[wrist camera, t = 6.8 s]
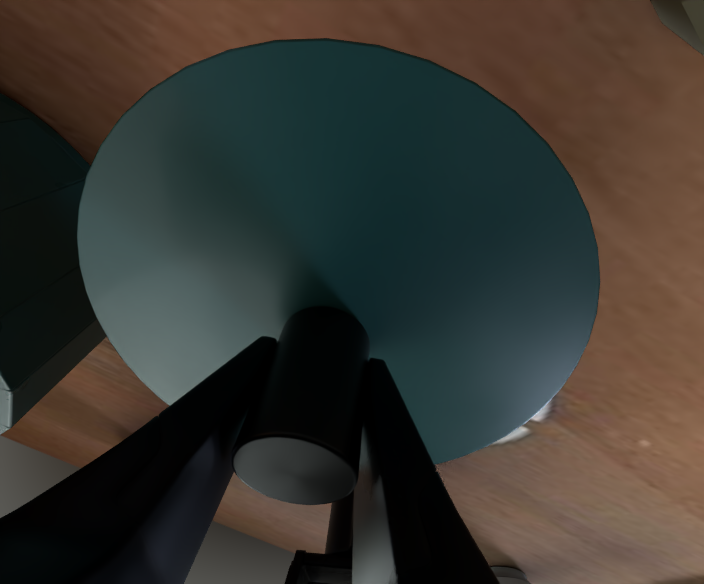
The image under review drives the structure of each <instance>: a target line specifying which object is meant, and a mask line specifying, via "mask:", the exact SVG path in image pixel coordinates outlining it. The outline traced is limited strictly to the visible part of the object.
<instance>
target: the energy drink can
mask: <svg viewBox="0 0 704 584" xmlns="http://www.w3.org/2000/svg"><path fill="white" fill-rule="evenodd" d="M491 569H492V571H493V572H494V574H495V576H496V577H497V579H498V581H499V582H500V584H531V583H529V582H528V581H527V578H526V575H525V574H524V573H523V572H521V571H519V570H516V569H513V568H508V567H491Z"/></svg>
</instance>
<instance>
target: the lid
mask: <svg viewBox="0 0 704 584" xmlns="http://www.w3.org/2000/svg"><path fill="white" fill-rule="evenodd" d="M77 245H78V255H79V265H80V269H81V273H82V277H83V281H84V285H85V289H86V292H87V295H88V297H89V300H90V302H91V305H92V308H93V310H94V313H95V315H96V317H97V319H98V321H99V323H100V325H101V326H102V328H103V330H104V332H105V334H106V335H107V337H108V339H109V341H110V342H111V343H112V345H113V346H114V348H115V349H116V351H117V352H118V353H119V355H120V356H121V358H122V359H123V360H124V362H125V363H126V364H127V365H128V366H129V367H130V368H131V370H132V371H133V372H134V373H135V374H136V375H137V377H138V378H139V379H140V380H141V381H142V382H143V383H144V384H145V385H146V386H147V387H148V388H150V389H151V390H152V391H153V392H154V393H155V394H156V395H157V396H158V397H159V398H160V399H162V400H163V401H164V402H165V403H167V404H168V405H169V406H170V405H172V404H173V403H174V402H175V401H177V400H178V399H179V398H181V397H182V396H183V395H185V394H186V393H187V392H189V391H190V390H191V389H193V388H194V387H195V386H196V385H198V384H199V383H200V382H202V381H203V380H204V379H206V378H207V377H208V376H210V375H211V374H212V373H213V372H215V371H216V370H217V369H219V368H220V367H221V366H223V365H224V364H225V363H227V362H228V361H229V360H230V359H232V358H233V357H234V356H236V355H237V354H238V353H240V352H241V351H242V350H244V349H245V348H246V347H248V346H249V345H250V344H251V343H253V342H254V341H255V340H257V339H258V338H259V337H261V336H268V337H273V338H275V339H276V340H277V344H276V346H275V349H274V351H273V353H272V356H271V358H270V361H269V363H268V365H267V368H266V370H265V372H264V375H263V377H262V380H261V382H260V384H259V387H258V389H257V392H256V394H255V396H254V399H253V401H252V403H251V406H250V408H249V411H248V413H247V415H246V418H245V420H244V423H243V425H242V427H241V430H240V432H239V434H238V437H237V439H236V442H235V444H234V446H233V449H232V452H231V465H232V468H233V470H234V472H235V473H236V475H237V476H238V477H239V478H240V479H241V480H242V481H243V482H244V483H245V484H246V485H248V486H249V487H251V488H252V489H254V490H255V491H257V492H259V493H261V494H263V495H266V496H268V497H271V498H273V499H277V500H280V501H284V502H288V503H294V504H303V505H319V504H327V503H332V502H335V501H338V500H340V499H343V498H344V497H346V496H348V495H349V494H350V493H351V492H352V491H353V490H354V488H355V486H356V484H357V482H358V476H359V465H360V453H361V442H362V430H363V418H364V406H365V393H366V382H367V370H368V361H369V359H370V358H377V359H382V360H384V361H385V362H386V365H387V367H388V369H389V371H390V373H391V375H392V377H393V379H394V381H395V383H396V386H397V388H398V390H399V392H400V394H401V396H402V398H403V400H404V402H405V404H406V406H407V409H408V411H409V413H410V415H411V417H412V419H413V421H414V423H415V425H416V427H417V430H418V432H419V434H420V436H421V438H422V440H423V442H424V444H425V446H426V448H427V450H428V453H429V455H430V457H431V459H432V461H433V463H434V465H435V464H440V463H443V462H446V461H449V460H453V459H456V458H459V457H462V456H465V455H467V454H470V453H472V452H475V451H477V450H480V449H482V448H484V447H486V446H488V445H490V444H492V443H494V442H496V441H498V440H499V439H501V438H503V437H505V436H507V435H508V434H510V433H511V432H513V431H514V430H516V429H517V428H519V427H520V426H522V425H523V424H525V423H526V422H527V421H528V420H529V419H531V418H532V417H533V416H534V415H535V414H536V413H538V412H539V411H540V410H541V409H542V408H543V407H545V406H546V404H547V403H548V402H549V401H550V400H551V399H552V398H553V397H554V396H555V395H556V393H557V392H558V391H559V390H560V389H561V388H562V387H563V385H564V384H565V382H566V381H567V379H568V378H569V376H570V375H571V373H572V372H573V370H574V369H575V367H576V366H577V364H578V362H579V360H580V358H581V356H582V354H583V352H584V349H585V347H586V345H587V343H588V341H589V338H590V334H591V331H592V328H593V324H594V321H595V317H596V314H597V307H598V298H599V289H600V272H599V258H598V247H597V243H596V239H595V235H594V231H593V228H592V224H591V220H590V216H589V213H588V211H587V208H586V206H585V204H584V202H583V200H582V198H581V196H580V193H579V191H578V189H577V187H576V185H575V183H574V181H573V178H572V177H571V175H570V174H569V173H568V171H567V170H566V168H565V167H564V165H563V164H562V163H561V161H560V160H559V158H558V157H557V156H556V154H555V153H554V151H553V150H552V148H551V147H550V146H549V144H548V143H547V142H546V141H545V140H544V139H543V138H542V137H541V136H540V135H539V134H538V133H537V132H536V131H535V130H534V129H533V128H532V127H531V126H530V125H529V124H528V123H527V122H526V121H525V120H524V119H523V118H522V117H521V116H520V115H519V114H518V113H517V112H516V111H515V110H513V109H512V108H511V107H509V106H508V105H506V104H505V103H503V102H502V101H501V100H499V99H498V98H496V97H495V96H494V95H492V94H491V93H489V92H488V91H487V90H485V89H484V88H482V87H481V86H479V85H478V84H477V83H475V82H473V81H471V80H469V79H467V78H465V77H463V76H461V75H459V74H457V73H455V72H453V71H450V70H448V69H446V68H444V67H442V66H440V65H438V64H436V63H434V62H432V61H430V60H427V59H424V58H420V57H417V56H414V55H410V54H407V53H404V52H400V51H397V50H394V49H390V48H387V47H384V46H380V45H375V44H367V43H359V42H352V41H344V40H336V39H329V38H320V39H290V40H273V41H268V42H264V43H259V44H254V45H249V46H244V47H239V48H234V49H229V50H226V51H224V52H221V53H219V54H216V55H214V56H211V57H209V58H206V59H204V60H201V61H199V62H196V63H194V64H191V65H189V66H186V67H184V68H183V69H181V70H180V71H178V72H177V73H175V74H173V75H172V76H170V77H169V78H167V79H165V80H164V81H162V82H161V83H159V84H157V85H156V86H154V87H153V88H151V89H150V90H149V91H148V92H147V93H145V94H144V95H143V96H142V97H141V98H140V99H139V100H138V101H137V102H136V103H135V104H134V105H133V106H132V107H131V108H129V109H128V110H127V111H126V112H125V113H124V114H123V115H122V116H121V117H120V119H119V120H118V122H117V123H116V124H115V126H114V127H113V129H112V130H111V131H110V133H109V134H108V135H107V137H106V138H105V140H104V141H103V142H102V144H101V145H100V147H99V150H98V152H97V154H96V156H95V158H94V160H93V163H92V165H91V167H90V169H89V171H88V173H87V176H86V179H85V183H84V187H83V191H82V195H81V199H80V203H79V209H78V224H77Z"/></svg>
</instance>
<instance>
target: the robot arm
mask: <svg viewBox="0 0 704 584" xmlns="http://www.w3.org/2000/svg"><path fill="white" fill-rule="evenodd" d="M276 344H277V340H276V339H275V338H273V337H268V336H261V337H259V338H258V339H257V340H255V341H254V342H253V343H251V344H250V345H249V346H248V347H246V348H245V349H244V350H242V351H241V352H240V353H238V354H237V355H236V356H234V357H233V358H232V359H230V360H229V361H228V362H227V363H225V364H224V365H223V366H221V367H220V368H219V369H217V370H216V371H215V372H213V373H212V374H211V375H210V376H208V377H207V378H206V379H204V380H203V381H202V382H200V383H199V384H198V385H196V386H195V387H194V388H193V389H191V390H190V391H189V392H187V393H186V394H185V395H183V396H182V397H181V398H179V399H178V400H177V401H175V402H174V403H173V404H172V405H170V406H169V407H168V408H166V409H165V410H164V411H162V412H161V413H160V414H159V417H158V416H156V417H154V418H153V419H152V420H150V421H149V422H148V423H146V424H145V425H144V426H143V427H141V428H140V429H138V430H137V431H136V432H134V433H133V434H132V435H130V436H129V437H127V438H126V439H125V440H123V441H122V442H121V443H119V444H118V445H116V446H115V447H113V448H112V449H110V450H109V451H107V452H106V453H104V454H103V455H101V456H100V457H98V458H97V459H95V460H94V461H92V462H90V463H89V464H87V465H86V466H84V467H83V468H81V469H80V470H78V471H76V472H75V473H73V474H72V475H70V476H69V477H67V478H66V479H64V480H62V481H61V482H59V483H58V484H56V485H54V486H53V487H51V488H50V489H48V490H47V491H45V492H44V493H42V494H40V495H39V496H37V497H36V498H34V499H33V500H31V501H30V502H28V503H26V504H25V505H23V506H21V507H20V508H18V509H16V510H15V511H13V512H11V513H9V514H7V515H5V516H4V517H2V518H0V584H184V582H185V580H186V577H187V575H188V573H189V571H190V569H191V566H192V564H193V562H194V560H195V557H196V555H197V553H198V550H199V549H200V546H201V544H202V542H203V540H204V537H205V535H206V533H207V531H208V528H209V526H210V524H211V522H212V520H213V517H214V515H215V513H216V511H217V508H218V506H219V504H220V502H221V499H222V497H223V495H224V493H225V490H226V488H227V486H228V484H229V482H230V479H231V477H232V475H233V473H234V470H233V468H232V465H231V452H232V449H233V446H234V444H235V442H236V439H237V437H238V434H239V432H240V430H241V427H242V425H243V423H244V420H245V418H246V415H247V413H248V411H249V408H250V406H251V403H252V401H253V399H254V396H255V394H256V392H257V389H258V387H259V384H260V382H261V380H262V377H263V375H264V372H265V370H266V368H267V365H268V363H269V361H270V358H271V356H272V353H273V351H274V349H275V346H276ZM435 471H436V467H435V465H434V463H433V461H432V459H431V457H430V455H429V453H428V450H427V448H426V446H425V444H424V442H423V440H422V438H421V436H420V434H419V432H418V430H417V427H416V425H415V423H414V421H413V419H412V417H411V415H410V413H409V411H408V409H407V406H406V404H405V402H404V400H403V398H402V396H401V394H400V392H399V390H398V388H397V386H396V383H395V381H394V379H393V377H392V375H391V373H390V371H389V369H388V367H387V365H386V362H385V361H384V360H382V359H377V358H370V359H369V361H368V370H367V382H366V393H365V406H364V418H363V430H362V442H361V453H360V465H359V476H358V482H357V484H356V486H355V488H354V490H353V491H352V492H351V493H350V494H349V495H348V496H346V497H344V498H343V499H340V500H338V501H335V502H332V506H331V514H330V521H329V528H328V535H327V542H326V549H325V554H319V553H307V552H306V551H305V550H296V553H295V557H294V560H293V561H292V563H291V565H290V568H289V571H288V574H287V578H286V581H285V584H500V582H499V581H498V579H497V577H496V576H495V574H494V572H493V571H492V569H491V567H490V566H489V564H488V562H487V561H486V559H485V557H484V556H483V554H482V552H481V551H480V549H479V547H478V546H477V544H476V542H475V541H474V539H473V537H472V536H471V534H470V532H469V531H468V529H467V527H466V525H465V524H464V522H463V520H462V518H461V517H460V515H459V513H458V511H457V510H456V508H455V506H454V504H453V502H452V500H451V498H450V496H449V494H448V492H447V490H446V488H445V486H444V484H443V482H442V480H441V478H440V475H439V473H438V472H437V471H436V472H435Z"/></svg>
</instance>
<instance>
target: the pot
mask: <svg viewBox="0 0 704 584" xmlns="http://www.w3.org/2000/svg"><path fill="white" fill-rule="evenodd" d="M90 167H91V166H90V165H89V164H88V163H87V162H86V161H85V160H84V159H83V158H82V157H81V156H80V154H79V153H78V152H77V151H76V150H75V149H74V148H73V147H72V146H71V145H70V144H69V143H68V142H66V141H65V140H64V139H63V138H62V137H61V136H60V135H59V134H58V133H57V132H55V131H54V130H53V129H52V128H51V127H50V126H48V125H47V124H46V123H44V122H43V121H42V120H40V119H39V118H38V117H37V116H35V115H34V114H33V113H31V112H30V111H29V110H27V109H26V108H24V107H22V106H21V105H19V104H18V103H16V102H15V101H13V100H12V99H10V98H8V97H7V96H5V95H3V94H1V93H0V435H1V434H2V433H4V432H5V431H7V430H8V429H10V428H11V427H12V426H13V425H14V424H16V423H17V422H18V421H19V420H20V419H21V418H22V417H23V416H24V415H25V414H26V413H27V412H28V411H29V410H30V409H31V408H32V407H33V406H34V405H35V404H36V403H37V402H39V401H40V400H41V399H42V398H43V397H44V396H45V395H46V394H47V393H48V392H49V391H50V390H51V389H52V388H53V387H54V386H55V385H56V384H57V383H58V382H59V381H61V380H62V379H63V378H64V377H65V376H66V375H67V374H68V373H69V372H70V371H71V370H72V369H73V368H74V367H75V366H76V365H77V364H78V363H79V362H80V361H81V360H82V359H84V358H85V357H86V356H87V355H88V354H89V353H90V352H91V351H92V350H93V349H94V348H95V347H96V346H97V345H98V344H99V343H100V342H101V341H102V340H103V339H104V338H105V337H107V335H106V334H105V332H104V330H103V328H102V326H101V325H100V323H99V321H98V319H97V317H96V315H95V313H94V310H93V308H92V305H91V302H90V300H89V297H88V295H87V292H86V289H85V285H84V281H83V277H82V273H81V269H80V265H79V255H78V245H77V224H78V209H79V203H80V199H81V195H82V191H83V187H84V183H85V179H86V176H87V173H88V171H89V169H90Z"/></svg>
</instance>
